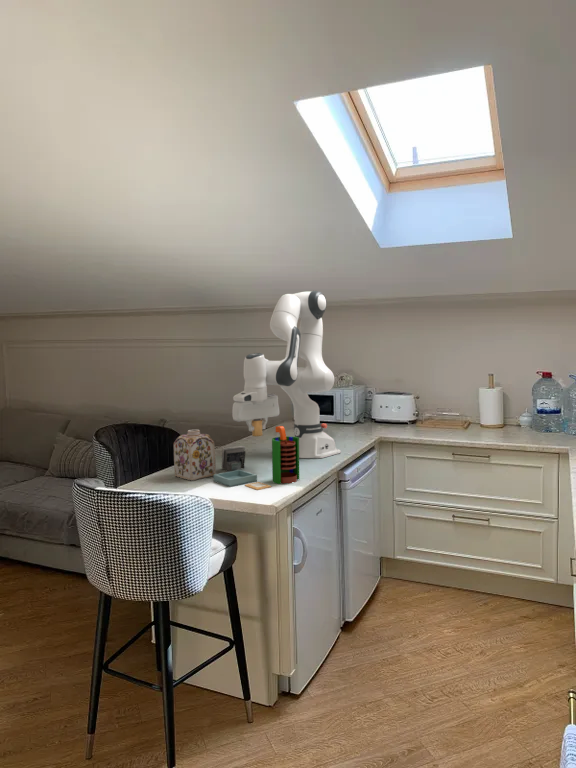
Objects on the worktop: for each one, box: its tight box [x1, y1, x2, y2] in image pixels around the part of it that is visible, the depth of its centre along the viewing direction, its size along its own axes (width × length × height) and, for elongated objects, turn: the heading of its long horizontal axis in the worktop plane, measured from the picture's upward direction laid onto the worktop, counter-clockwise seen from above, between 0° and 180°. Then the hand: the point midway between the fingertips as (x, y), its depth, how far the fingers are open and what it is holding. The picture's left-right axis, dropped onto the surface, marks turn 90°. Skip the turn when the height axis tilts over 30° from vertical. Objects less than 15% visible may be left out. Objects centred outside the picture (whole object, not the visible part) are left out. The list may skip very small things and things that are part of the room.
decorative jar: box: [173, 429, 217, 481], centre depth 230 cm, size 12×12×18 cm
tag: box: [244, 481, 272, 491], centre depth 212 cm, size 6×8×1 cm
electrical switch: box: [221, 445, 246, 471], centre depth 240 cm, size 9×5×9 cm, turn 113°
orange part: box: [251, 418, 264, 437], centre depth 233 cm, size 4×4×7 cm
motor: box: [271, 425, 300, 485], centre depth 218 cm, size 10×9×20 cm
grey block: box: [226, 461, 242, 472], centre depth 230 cm, size 4×4×5 cm
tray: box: [213, 469, 258, 488], centre depth 220 cm, size 12×12×2 cm
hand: (257, 430), depth 233 cm, fingers closed on orange part, 4 cm apart
